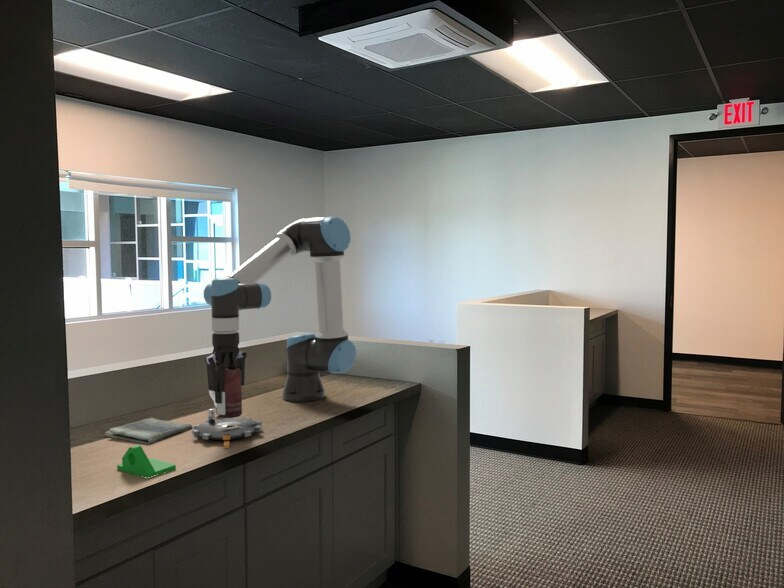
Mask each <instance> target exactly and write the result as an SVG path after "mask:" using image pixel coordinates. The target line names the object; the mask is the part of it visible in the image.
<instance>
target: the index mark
mask: <svg viewBox="0 0 784 588" xmlns="http://www.w3.org/2000/svg"><path fill="white" fill-rule="evenodd" d="M229 448H230V440H226V441H223V449H229Z"/></svg>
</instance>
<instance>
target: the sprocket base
mask: <svg viewBox="0 0 784 588" xmlns="http://www.w3.org/2000/svg"><path fill="white" fill-rule="evenodd" d="M243 438H244V437H243V436H242V437H236V438H230V440H229V441H233V440H239V439H243ZM210 440H212V441H218V440H219V441H220V442H221V441H223V442H224V441H227V440H223V439H210Z"/></svg>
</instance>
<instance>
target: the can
mask: <svg viewBox="0 0 784 588" xmlns="http://www.w3.org/2000/svg"><path fill="white" fill-rule="evenodd" d="M222 392H225V415H221V416H220V417H222V418H223V419H225V418H240V417H241V416H242V414H243V400H242V399H243V397H242V395H243V393H242V386H241V370H240V368H239V367H236V369H235V370H231V369H228V367H226V369H225V375H224V383H223V391H222Z"/></svg>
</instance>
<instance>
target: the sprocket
mask: <svg viewBox="0 0 784 588" xmlns="http://www.w3.org/2000/svg"><path fill="white" fill-rule="evenodd" d="M262 423H263V422H262V421H261V420H254V419H252V418H251V417H234V418H219V419H218V418H217V419H216V412H215V408H209V409H207V420H205V422H203V423H200V424H199V423H197V424H195V425H193V429H192V432H191V433H192V436H193V437H197V436H198V437H202V440H207V441H208V440H211V439H223V440H226V441H231V440H230V438H236V437H242V436H243V438H246V437H251V436H252V434H253V433H255V432H256V433H257V432H258V433H259V432H262V429H263V424H262Z"/></svg>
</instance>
